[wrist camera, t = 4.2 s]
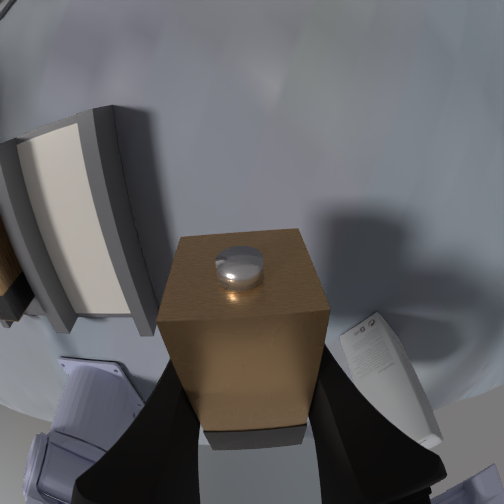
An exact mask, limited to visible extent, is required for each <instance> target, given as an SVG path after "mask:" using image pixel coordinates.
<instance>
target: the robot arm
mask: <svg viewBox="0 0 504 504" xmlns="http://www.w3.org/2000/svg"><path fill="white" fill-rule="evenodd" d="M57 361H58V363H59V364H60V365H61V367H62V368H63V369H64V371H65V372H66V373H67V375H68V376H69V377H68V379H67V382H66V385H65V387H64V390H63V393H62V396H61V398H60V401H59V404H58V407H57V410H56V413H55V416H54V420H53V423H52V426H51V429H50V432H49V433H48V434H47V435H46V434H44V433H40V434H37V435H35V438H34V440H33V442H32V445H31V448H30V451H29V455H28V459H27V463H26V467H25V473H24V482H23V487H22V488H23V489H22V492H23V494H24V498H25V500H26V504H66V503H69V504H200V493H199V477H198V440H199V430H200V421H199V419H198V417H197V415H196V413H195V411H194V409H193V407H192V405H191V403H190V401H189V399H188V397H187V394H186V392H185V390H184V388H183V386H182V384H181V381H180V379H179V377H178V375H177V372H176V370H175V368H174V365H173V363H172V361H171V358H170V360H169V362H168V364H167V366H166V368H165V370H164V372H163V374H162V376H161V377H160V379H159V381H158V383H157V385H156V387H155V388H154V390H153V392H152V393H151V395H150V397H149V398H148V400H147V401H146V403H145V404H144V402H143V401H142V400H141V398H140V397H139V395H138V394H137V392H136V391H135V389H134V388H133V386H132V385H131V383H130V382H129V380H128V379H127V377H126V375H125V374H124V372H123V371H122V369H121V367H120V366H119V365H118V364H117V363H114V362H102V361H90V360H80V359H71V358H63V357H59V358H58V360H57ZM139 410H141V411H140V412H139ZM308 416H309V420H310V424H311V427H312V431H313V435H314V440H315V446H316V453H317V460H318V468H319V477H320V487H321V499H322V504H504V489H503V486H502V482H501V480H500V477H499V474H498V471H497V468H496V465H495V464H492V465H490V466H489V467H487V468H485V469H484V470H482V471H481V472H479V473H477V474H476V475H474V476H472V477H470V478H468V479H467V480H465V481H463V482H462V483H460V484H458V485H456V486H454V487H452V488H450V489H448V490H447V491H446V492H444V493H442V494H440V495H438V496H436V497H434V498H432V499H430V498H429V494H431V493H432V492H431V488H430V486H432V485H434V484H435V483H437V482H439V481H441V480H443V479H444V478H446V476H447V473H446V470H445V467H444V464H443V462H442V460H441V458H440V457H439V455H437V454H435V453H433V452H432V451H430V450H428V449H427V448H425V447H424V446H422V445H420V444H419V443H417V442H416V441H414V440H413V439H412V438H410V437H409V436H407V435H406V434H405V433H403V432H402V431H401V430H400V429H399V428H397V427H396V426H395V425H394V424H392V423H391V422H390V421H389V420H388V419H386V418H385V417H384V416H383V415H382V414H381V413H380V412H379V411H378V410H377V409H376V408H375V407H374V406H373V405H372V404H371V403H370V402H369V401H368V400H367V399H366V398H365V397H364V396H363V394H362V393H361V392H360V391H359V390H358V389H357V387H356V386H355V385H354V384H353V383H352V381H351V380H350V379H349V378H348V376H347V375H346V374H345V372H344V371H343V370H342V368H341V367H340V366H339V364H338V363H337V361H336V360H335V359H334V357H333V356H332V354H331V353H330V351H329V350H328V348H327V346H326V345H325V343H324V348H323V353H322V357H321V362H320V367H319V371H318V376H317V380H316V385H315V389H314V393H313V397H312V402H311V406H310V410H309V413H308ZM42 492H43V493H42ZM44 493H45V494H47V495H49V496H52V497H54V498H56V499H59V500H61V501H64V502H66V503H64V502H61V501H59V500H56V499H54V498H52V497H49V496H47V495H45V494H44Z"/></svg>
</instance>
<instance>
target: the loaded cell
mask: <svg viewBox="0 0 504 504" xmlns="http://www.w3.org/2000/svg"><path fill="white" fill-rule="evenodd" d="M34 298H35V294H34V292H33V291H32V289H31V287H30V285H29V283H28V280H27V278H26V276H25V274H24V272H23V270H22V268H21V265H20V263H19V261H18V259H17V256H16V254H15V252H14V249H13V247H12V244H11V242H10V239H9V236H8V234H7V231H6V228H5V226H4V223H3V220H2V217H1V214H0V320H6V321H16V322H19V320H20V319H21V317H22V316H23V314H24V313H25V311H26V310H27V308H28V306H29V305H30V303H31V302H32V301H33V299H34Z"/></svg>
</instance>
